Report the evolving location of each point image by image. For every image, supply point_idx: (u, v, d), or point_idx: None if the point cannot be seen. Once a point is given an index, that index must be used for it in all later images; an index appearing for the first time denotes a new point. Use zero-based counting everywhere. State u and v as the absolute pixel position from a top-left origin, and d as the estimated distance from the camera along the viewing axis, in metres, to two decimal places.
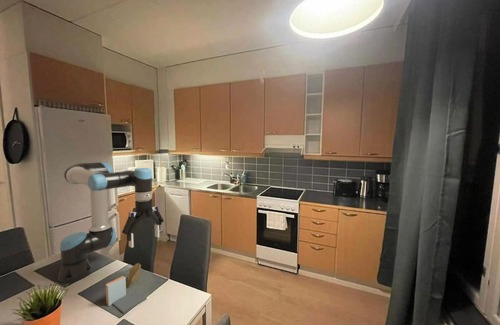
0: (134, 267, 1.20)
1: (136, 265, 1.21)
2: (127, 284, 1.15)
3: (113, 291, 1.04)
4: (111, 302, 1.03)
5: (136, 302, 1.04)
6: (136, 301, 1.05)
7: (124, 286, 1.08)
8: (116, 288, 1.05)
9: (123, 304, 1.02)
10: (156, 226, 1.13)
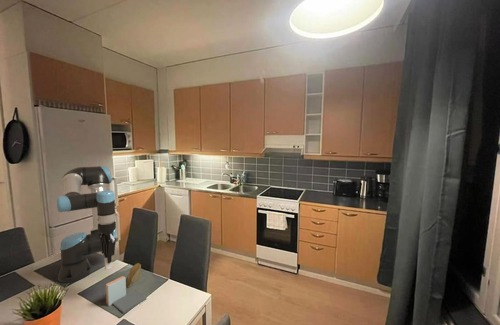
0: (134, 267, 1.20)
1: (136, 265, 1.21)
2: (127, 284, 1.15)
3: (113, 291, 1.04)
4: (111, 302, 1.03)
5: (136, 302, 1.04)
6: (136, 301, 1.05)
7: (124, 286, 1.08)
8: (116, 288, 1.05)
9: (123, 304, 1.02)
10: None
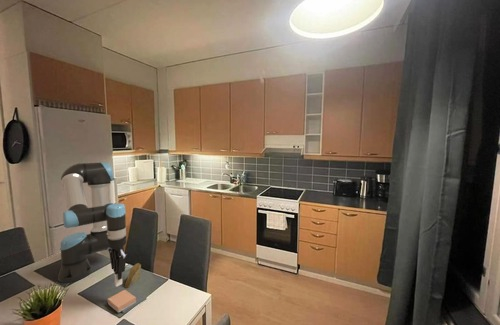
0: (134, 267, 1.20)
1: (136, 265, 1.21)
2: (127, 284, 1.15)
3: None
4: None
5: (136, 302, 1.04)
6: (136, 301, 1.05)
7: None
8: None
9: None
10: None
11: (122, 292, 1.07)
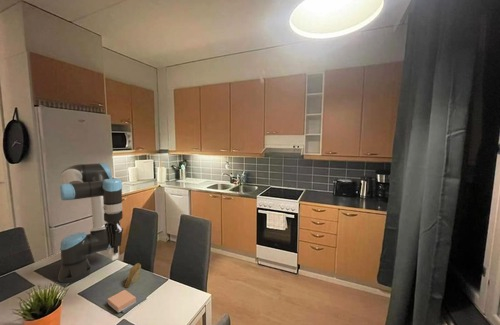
0: (134, 267, 1.20)
1: (136, 265, 1.21)
2: (127, 284, 1.15)
3: None
4: None
5: (136, 302, 1.04)
6: (136, 301, 1.05)
7: None
8: None
9: None
10: None
11: (122, 292, 1.07)
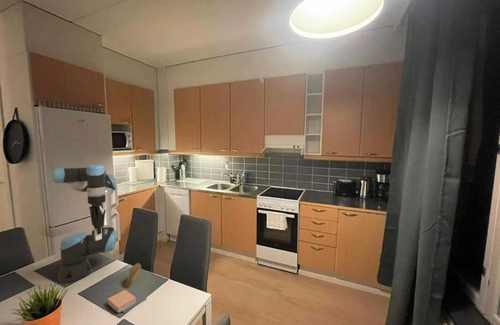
0: (134, 267, 1.20)
1: (136, 265, 1.21)
2: (127, 284, 1.15)
3: None
4: None
5: (136, 302, 1.04)
6: (136, 301, 1.05)
7: None
8: None
9: None
10: None
11: (122, 292, 1.07)
